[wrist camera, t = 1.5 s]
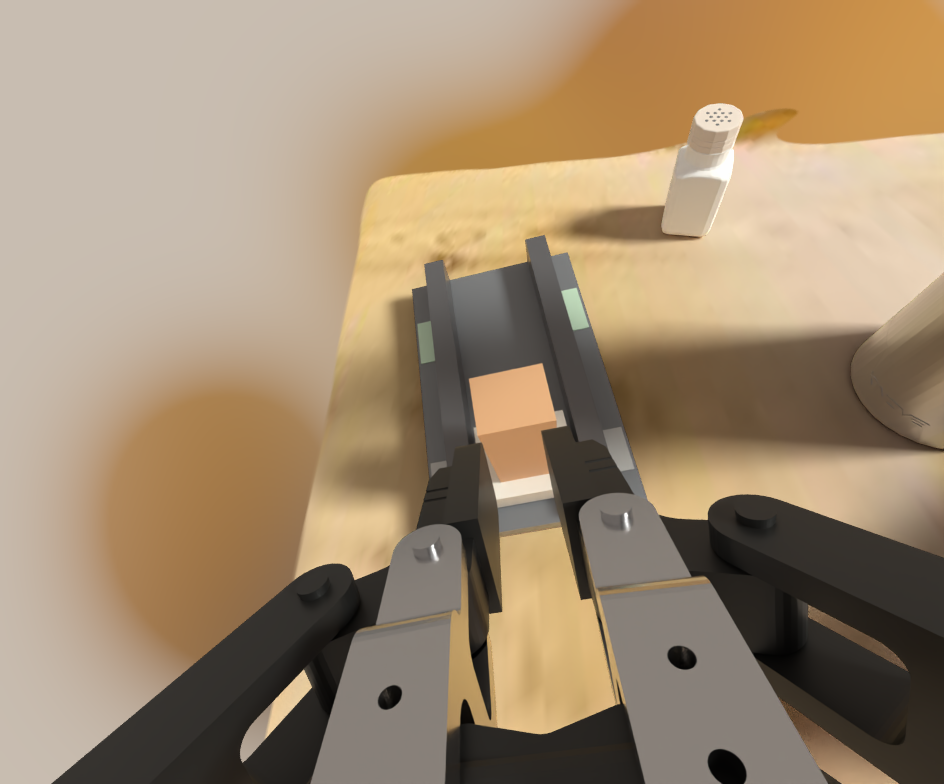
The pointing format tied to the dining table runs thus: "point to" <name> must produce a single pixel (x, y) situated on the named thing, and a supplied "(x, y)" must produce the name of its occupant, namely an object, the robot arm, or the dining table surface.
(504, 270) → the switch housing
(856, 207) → the dining table surface
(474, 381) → the switch lever
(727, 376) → the dining table surface
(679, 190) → the salt shaker
